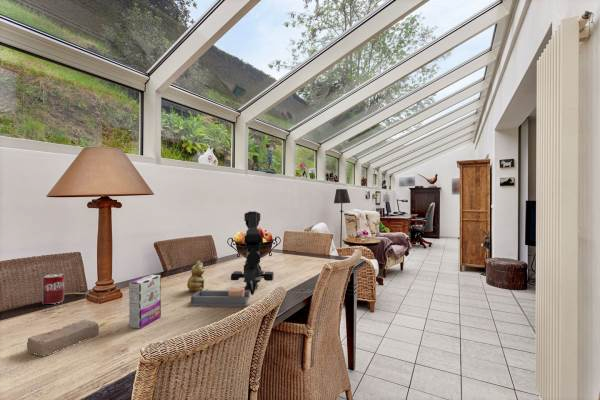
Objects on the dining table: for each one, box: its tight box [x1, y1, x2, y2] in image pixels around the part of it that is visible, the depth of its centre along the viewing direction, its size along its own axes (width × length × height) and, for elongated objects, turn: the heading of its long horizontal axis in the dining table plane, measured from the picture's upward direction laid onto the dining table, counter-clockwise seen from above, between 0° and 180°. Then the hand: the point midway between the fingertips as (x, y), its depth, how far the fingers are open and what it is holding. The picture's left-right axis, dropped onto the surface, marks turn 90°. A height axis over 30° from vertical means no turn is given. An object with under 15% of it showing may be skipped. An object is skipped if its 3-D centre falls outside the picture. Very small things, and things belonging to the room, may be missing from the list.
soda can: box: [41, 273, 65, 305], centre depth 127 cm, size 7×7×12 cm
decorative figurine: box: [186, 260, 206, 293], centre depth 146 cm, size 10×8×15 cm
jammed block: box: [228, 287, 246, 297], centre depth 130 cm, size 6×6×4 cm
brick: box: [26, 319, 100, 357], centre depth 92 cm, size 16×8×5 cm, turn 158°
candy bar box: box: [128, 274, 162, 329], centre depth 108 cm, size 11×5×16 cm, turn 168°
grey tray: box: [189, 289, 251, 308], centre depth 130 cm, size 12×24×4 cm, turn 90°
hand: (252, 294), depth 130 cm, fingers closed
